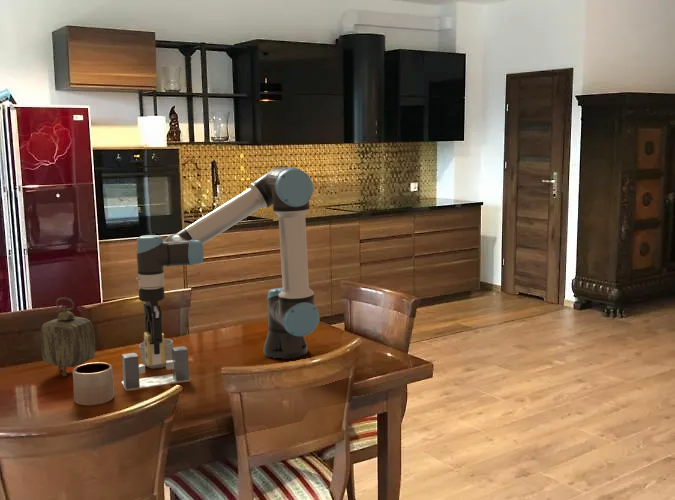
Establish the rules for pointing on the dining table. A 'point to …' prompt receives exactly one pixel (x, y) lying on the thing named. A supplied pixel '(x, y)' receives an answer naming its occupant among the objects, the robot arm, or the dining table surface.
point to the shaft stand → (134, 369)
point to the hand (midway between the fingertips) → (154, 361)
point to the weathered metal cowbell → (67, 340)
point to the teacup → (168, 353)
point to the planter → (93, 383)
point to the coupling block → (148, 348)
